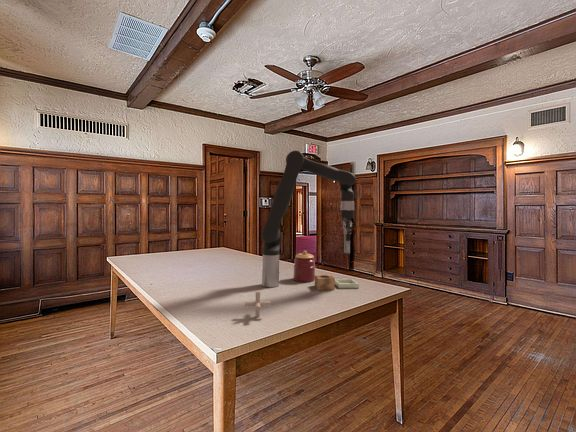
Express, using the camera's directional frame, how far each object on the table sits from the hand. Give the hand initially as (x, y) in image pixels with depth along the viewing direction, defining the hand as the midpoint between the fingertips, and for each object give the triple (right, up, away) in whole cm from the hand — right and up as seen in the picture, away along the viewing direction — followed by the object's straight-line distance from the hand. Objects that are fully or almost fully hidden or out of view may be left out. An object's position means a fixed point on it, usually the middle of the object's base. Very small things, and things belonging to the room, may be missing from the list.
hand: (347, 240), depth 169 cm
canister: (-23, -25, +14) cm, 37 cm away
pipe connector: (-45, -27, -48) cm, 71 cm away
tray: (0, -26, +1) cm, 26 cm away
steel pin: (0, -7, 0) cm, 7 cm away
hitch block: (-13, -26, -3) cm, 29 cm away
